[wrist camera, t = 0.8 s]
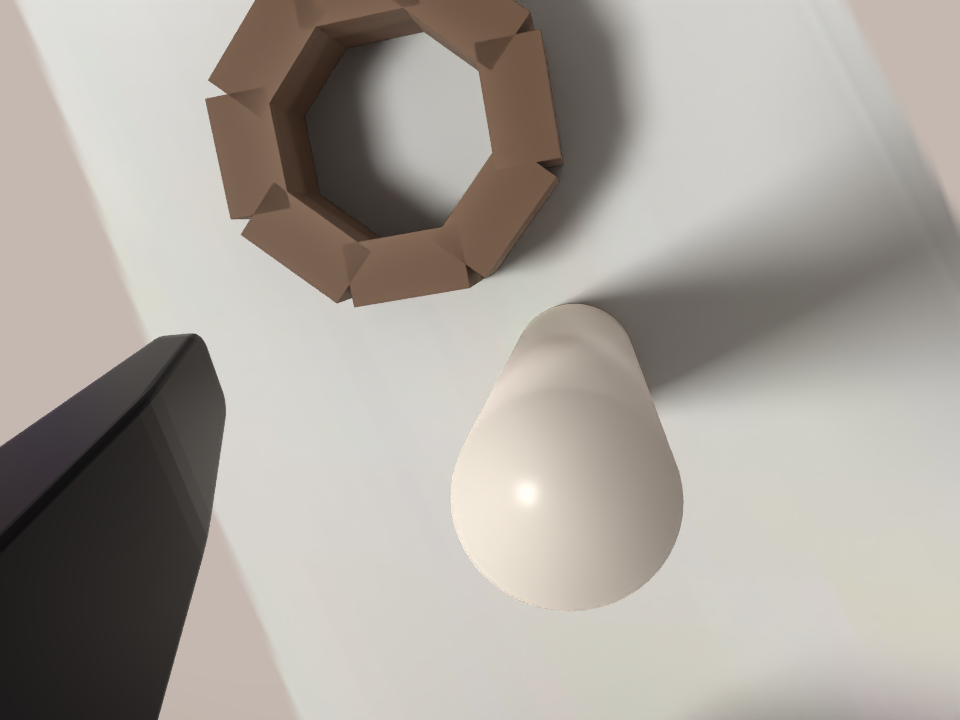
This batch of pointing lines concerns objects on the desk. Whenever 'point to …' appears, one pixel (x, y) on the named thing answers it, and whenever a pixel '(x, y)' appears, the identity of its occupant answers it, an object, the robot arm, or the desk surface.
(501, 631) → the desk surface
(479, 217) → the brown segmented ring
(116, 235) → the desk surface
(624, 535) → the cream tapered cylinder
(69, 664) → the robot arm
